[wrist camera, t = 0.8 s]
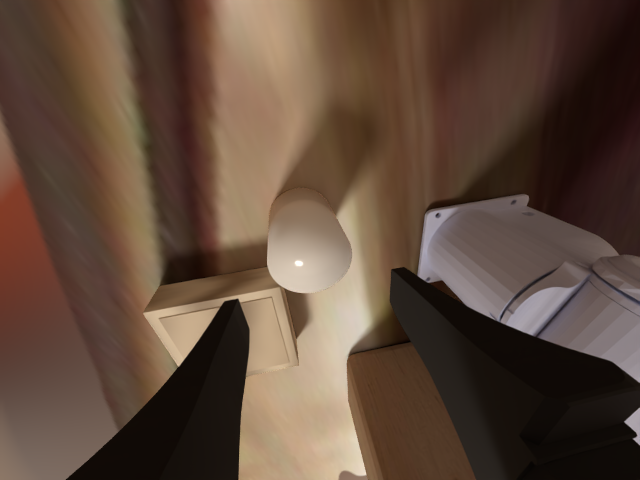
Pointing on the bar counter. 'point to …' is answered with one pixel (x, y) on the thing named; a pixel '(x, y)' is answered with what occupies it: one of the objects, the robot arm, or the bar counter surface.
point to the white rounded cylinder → (306, 242)
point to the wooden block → (402, 418)
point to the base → (205, 300)
